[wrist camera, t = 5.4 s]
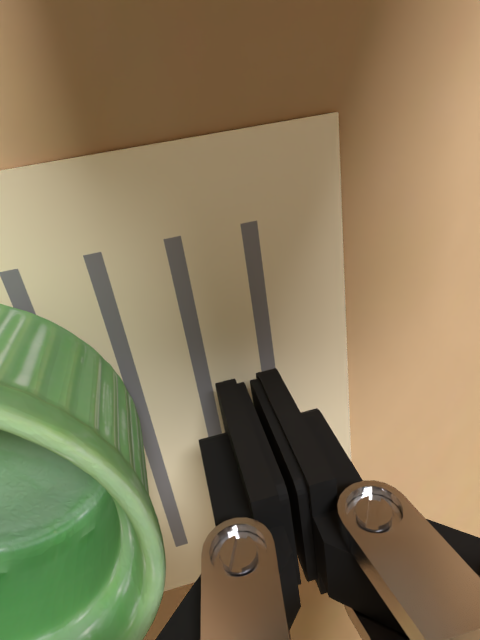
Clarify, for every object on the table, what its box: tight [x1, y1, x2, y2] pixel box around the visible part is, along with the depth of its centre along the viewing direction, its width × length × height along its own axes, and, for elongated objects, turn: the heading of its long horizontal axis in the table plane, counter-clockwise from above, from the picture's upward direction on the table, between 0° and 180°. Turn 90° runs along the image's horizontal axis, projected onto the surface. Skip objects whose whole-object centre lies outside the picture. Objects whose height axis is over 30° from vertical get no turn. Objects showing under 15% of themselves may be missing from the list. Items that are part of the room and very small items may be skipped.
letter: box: [0, 112, 351, 592], centre depth 12 cm, size 11×14×1 cm
